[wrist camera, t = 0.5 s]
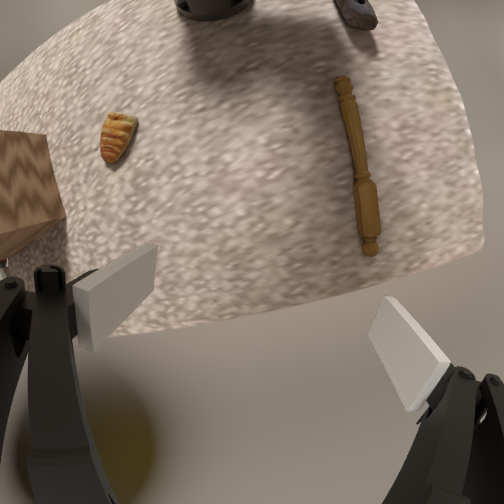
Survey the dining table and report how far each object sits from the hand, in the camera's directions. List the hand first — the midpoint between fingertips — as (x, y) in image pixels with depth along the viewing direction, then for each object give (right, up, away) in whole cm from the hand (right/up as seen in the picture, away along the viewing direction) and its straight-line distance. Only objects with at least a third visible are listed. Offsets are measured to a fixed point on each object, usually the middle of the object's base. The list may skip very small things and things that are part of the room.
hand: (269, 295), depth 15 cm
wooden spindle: (+16, +16, +26) cm, 35 cm away
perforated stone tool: (+17, +48, +18) cm, 54 cm away
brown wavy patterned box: (-54, +15, +31) cm, 64 cm away
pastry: (-24, +23, +27) cm, 44 cm away
